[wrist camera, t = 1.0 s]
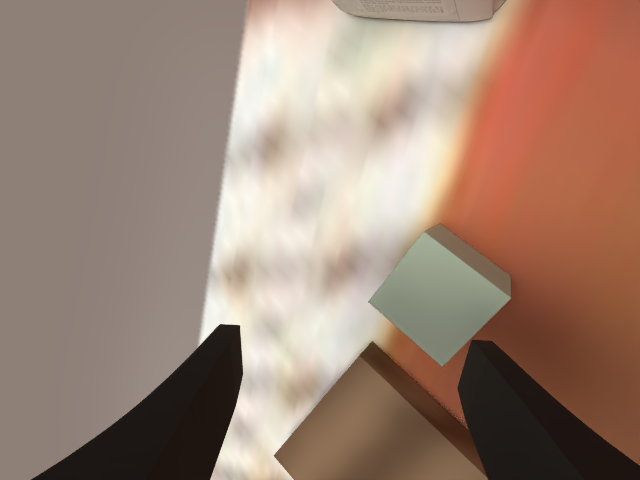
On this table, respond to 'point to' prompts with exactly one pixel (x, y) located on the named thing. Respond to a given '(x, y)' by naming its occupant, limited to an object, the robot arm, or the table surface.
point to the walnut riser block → (380, 431)
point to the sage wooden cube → (442, 293)
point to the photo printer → (422, 9)
